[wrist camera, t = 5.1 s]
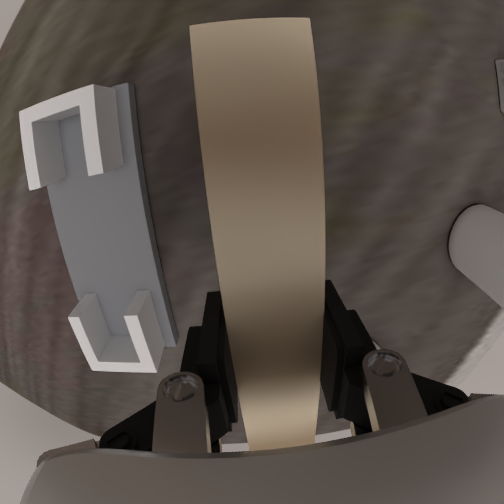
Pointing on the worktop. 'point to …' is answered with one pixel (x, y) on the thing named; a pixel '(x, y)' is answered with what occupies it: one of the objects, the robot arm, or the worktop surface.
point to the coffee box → (500, 81)
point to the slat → (266, 214)
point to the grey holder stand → (102, 223)
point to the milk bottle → (480, 249)
